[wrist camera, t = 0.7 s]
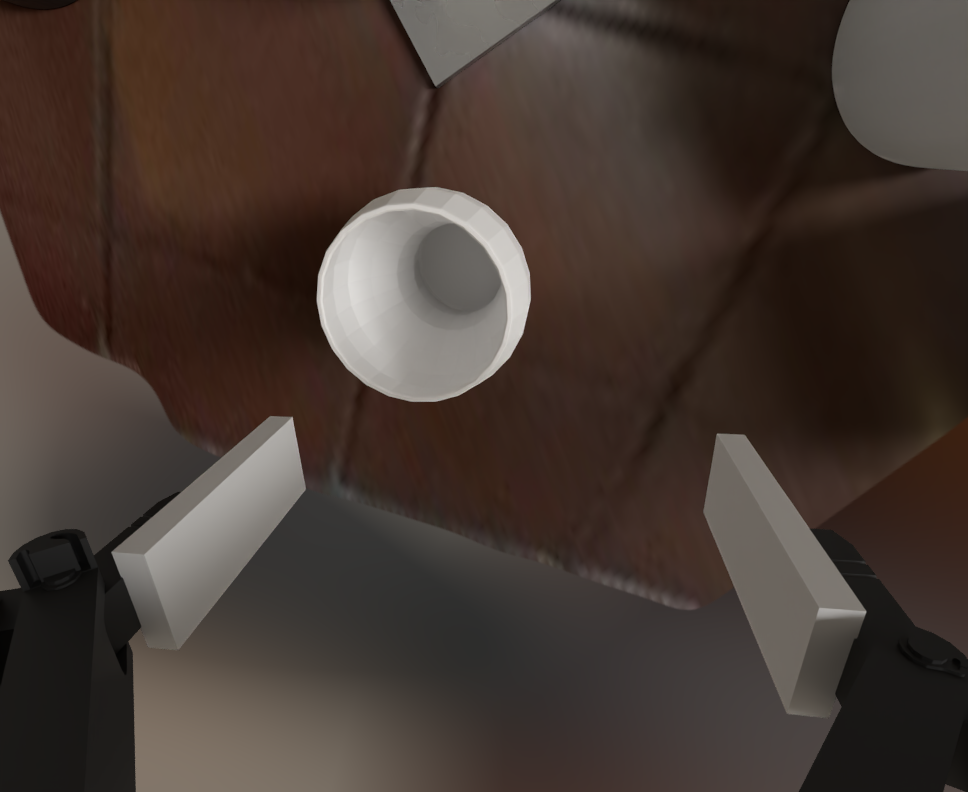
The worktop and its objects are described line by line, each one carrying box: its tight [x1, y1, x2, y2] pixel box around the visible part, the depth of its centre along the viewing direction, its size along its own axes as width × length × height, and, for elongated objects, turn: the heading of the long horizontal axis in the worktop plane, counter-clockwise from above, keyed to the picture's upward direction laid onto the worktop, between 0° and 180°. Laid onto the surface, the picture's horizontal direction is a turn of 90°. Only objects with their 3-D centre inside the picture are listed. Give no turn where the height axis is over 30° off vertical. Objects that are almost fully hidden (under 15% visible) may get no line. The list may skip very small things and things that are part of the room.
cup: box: [317, 187, 531, 402], centre depth 31 cm, size 11×11×15 cm
